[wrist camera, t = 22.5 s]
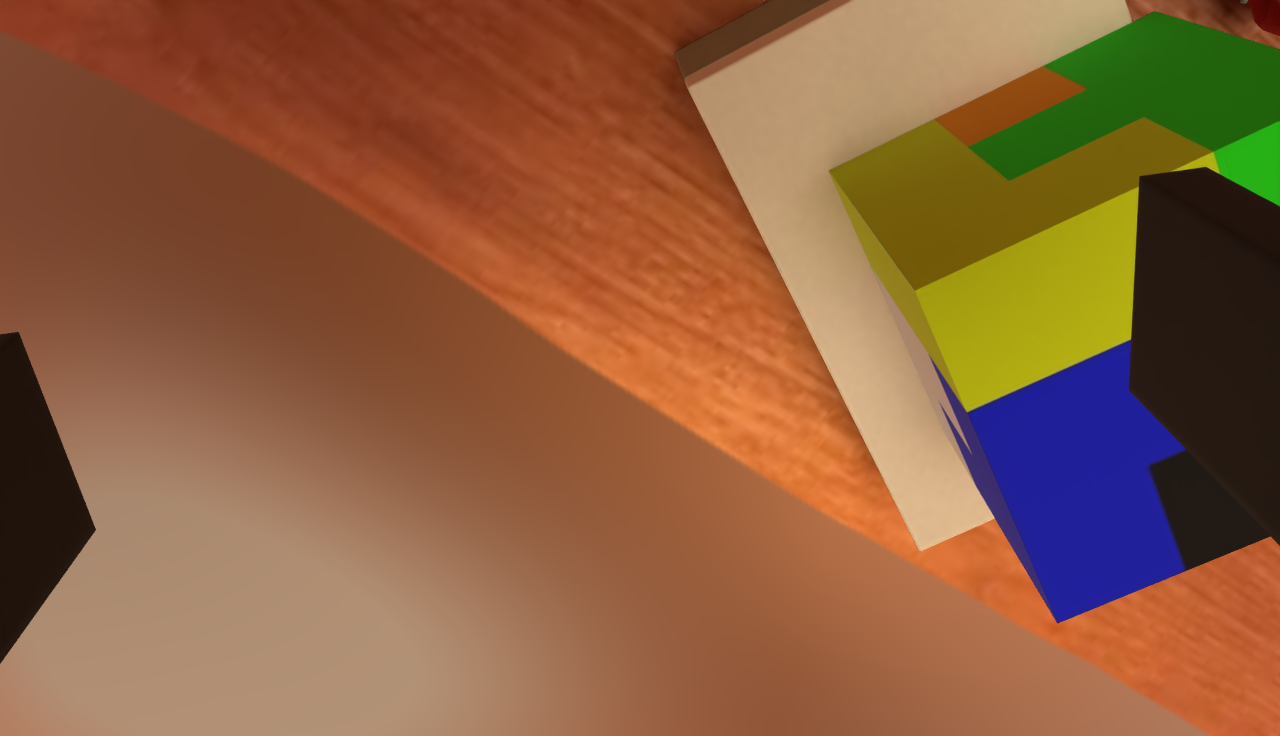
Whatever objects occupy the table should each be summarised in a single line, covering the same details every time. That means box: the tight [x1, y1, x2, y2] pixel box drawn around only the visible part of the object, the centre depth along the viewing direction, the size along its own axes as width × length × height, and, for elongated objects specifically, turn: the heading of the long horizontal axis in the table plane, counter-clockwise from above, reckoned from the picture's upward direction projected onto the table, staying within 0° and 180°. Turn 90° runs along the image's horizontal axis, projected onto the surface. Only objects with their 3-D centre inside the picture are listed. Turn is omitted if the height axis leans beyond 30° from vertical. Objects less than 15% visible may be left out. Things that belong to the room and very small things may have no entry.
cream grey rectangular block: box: [675, 0, 1132, 551], centre depth 38 cm, size 18×12×6 cm, turn 28°
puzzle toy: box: [829, 11, 1280, 623], centre depth 31 cm, size 10×10×10 cm
